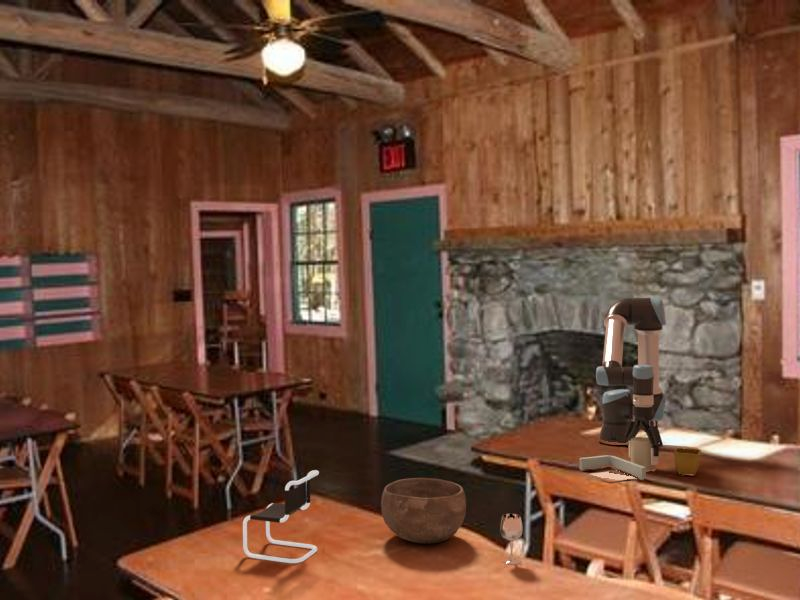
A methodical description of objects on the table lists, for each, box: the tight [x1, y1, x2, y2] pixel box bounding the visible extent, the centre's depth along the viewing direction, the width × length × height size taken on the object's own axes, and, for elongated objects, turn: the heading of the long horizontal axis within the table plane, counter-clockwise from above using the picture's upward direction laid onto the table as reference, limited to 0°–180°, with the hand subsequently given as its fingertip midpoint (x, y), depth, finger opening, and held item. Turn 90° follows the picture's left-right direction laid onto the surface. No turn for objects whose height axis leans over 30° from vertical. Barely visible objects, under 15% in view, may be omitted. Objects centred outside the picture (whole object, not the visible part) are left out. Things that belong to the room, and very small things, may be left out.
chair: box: [242, 469, 320, 564], centre depth 216 cm, size 13×17×22 cm
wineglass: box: [500, 513, 524, 565], centre depth 208 cm, size 6×6×12 cm
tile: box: [588, 471, 637, 480], centre depth 293 cm, size 12×12×1 cm
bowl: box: [380, 477, 467, 544], centre depth 227 cm, size 24×24×15 cm
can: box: [630, 436, 656, 470], centre depth 304 cm, size 9×9×12 cm
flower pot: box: [673, 447, 702, 475], centre depth 296 cm, size 9×9×9 cm
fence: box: [578, 454, 647, 481], centre depth 297 cm, size 14×22×4 cm, turn 20°
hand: (643, 460), depth 304 cm, fingers open, 13 cm apart
